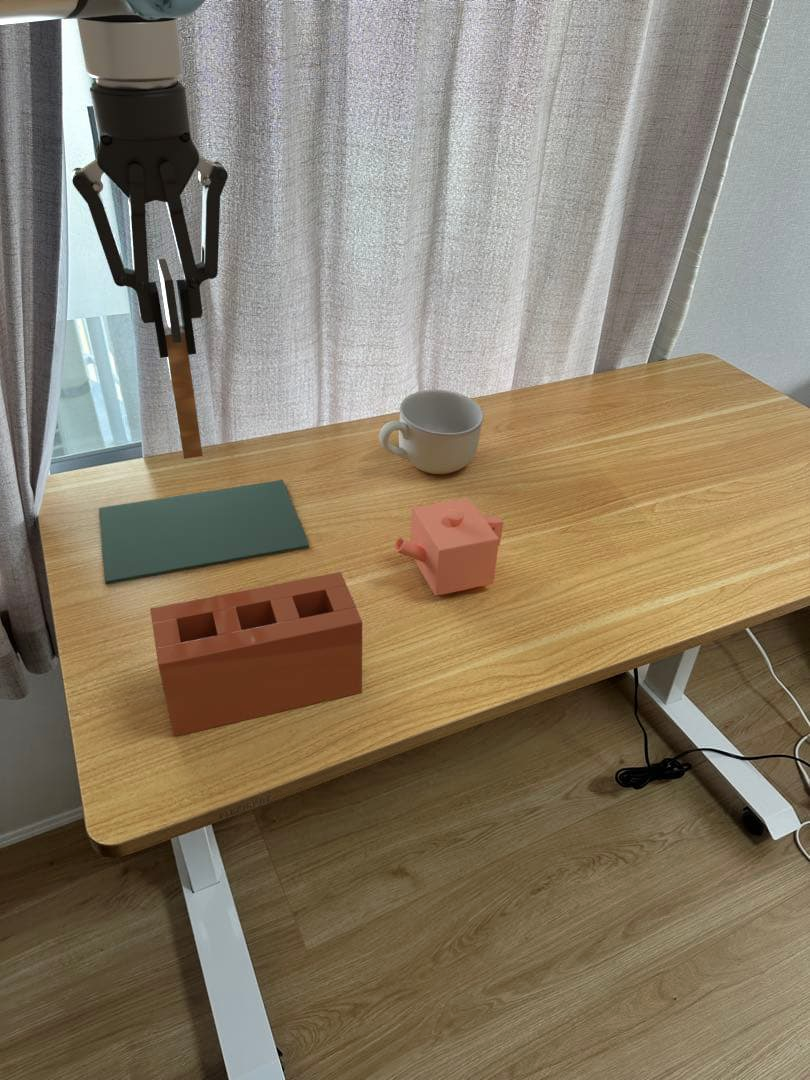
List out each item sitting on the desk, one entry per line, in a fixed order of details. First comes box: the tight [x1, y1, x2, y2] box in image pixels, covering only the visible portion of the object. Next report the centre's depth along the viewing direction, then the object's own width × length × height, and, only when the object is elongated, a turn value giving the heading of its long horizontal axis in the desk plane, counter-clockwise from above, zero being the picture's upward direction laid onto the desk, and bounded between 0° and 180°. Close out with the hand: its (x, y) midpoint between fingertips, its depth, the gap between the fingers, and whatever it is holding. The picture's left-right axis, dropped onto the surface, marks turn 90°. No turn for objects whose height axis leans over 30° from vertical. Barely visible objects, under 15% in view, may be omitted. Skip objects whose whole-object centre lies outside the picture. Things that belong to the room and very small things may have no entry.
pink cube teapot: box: [393, 497, 505, 597], centre depth 86 cm, size 8×12×8 cm, turn 110°
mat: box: [98, 479, 310, 585], centre depth 93 cm, size 22×14×1 cm, turn 109°
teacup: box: [378, 389, 485, 475], centre depth 104 cm, size 14×11×8 cm
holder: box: [149, 571, 363, 737], centre depth 72 cm, size 7×17×9 cm, turn 109°
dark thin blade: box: [157, 258, 203, 460], centre depth 81 cm, size 2×6×20 cm, turn 19°
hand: (176, 349), depth 80 cm, fingers closed on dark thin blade, 2 cm apart
